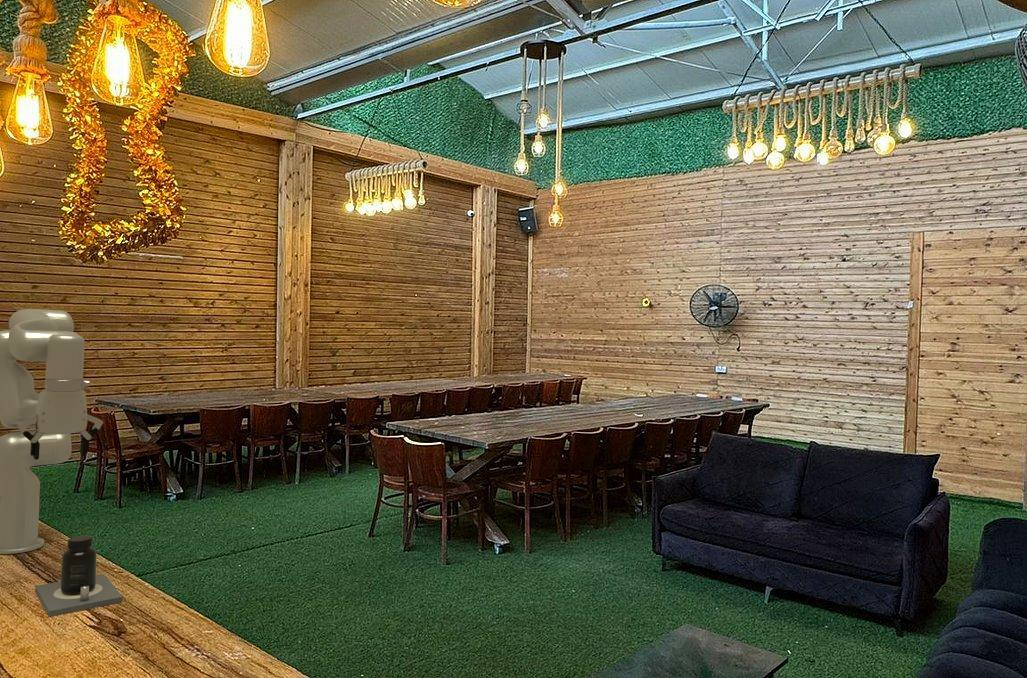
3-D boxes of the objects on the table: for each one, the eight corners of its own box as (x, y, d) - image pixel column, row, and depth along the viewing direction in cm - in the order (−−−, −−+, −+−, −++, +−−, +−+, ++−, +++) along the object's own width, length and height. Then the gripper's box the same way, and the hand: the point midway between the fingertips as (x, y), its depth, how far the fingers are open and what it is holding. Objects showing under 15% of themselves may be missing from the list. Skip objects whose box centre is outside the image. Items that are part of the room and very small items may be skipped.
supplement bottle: (102, 586, 164) (104, 535, 164) (81, 597, 157) (83, 543, 157) (74, 584, 165) (76, 533, 165) (53, 594, 158) (55, 541, 158)
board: (35, 590, 163) (35, 572, 163) (103, 578, 172) (104, 561, 172) (48, 616, 150) (49, 597, 150) (122, 602, 159) (122, 583, 159)
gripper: (101, 383, 176) (97, 451, 177) (17, 384, 164) (13, 456, 165) (108, 387, 171) (104, 457, 171) (22, 388, 159) (18, 463, 160)
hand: (59, 456), depth 168 cm, fingers open, 9 cm apart
